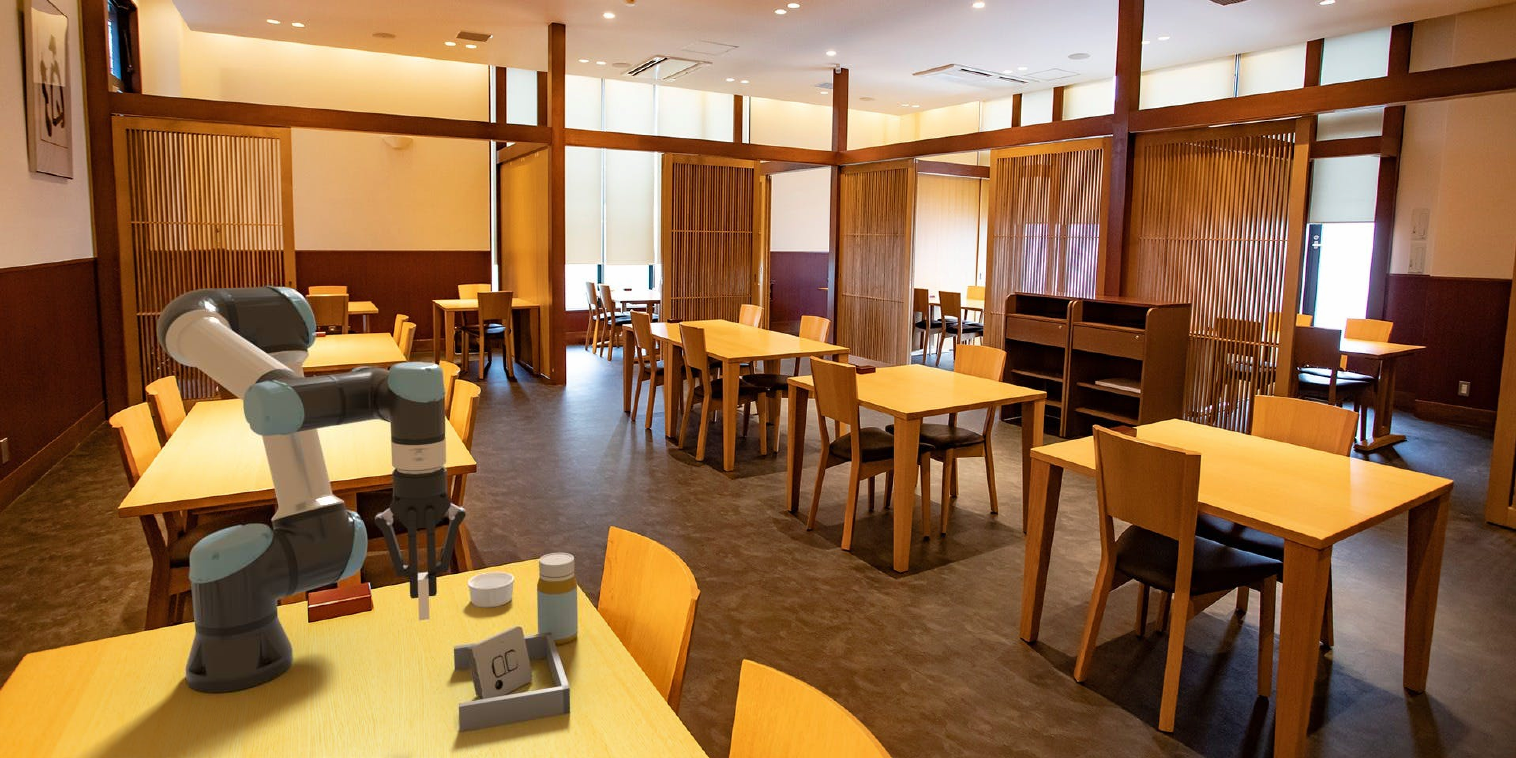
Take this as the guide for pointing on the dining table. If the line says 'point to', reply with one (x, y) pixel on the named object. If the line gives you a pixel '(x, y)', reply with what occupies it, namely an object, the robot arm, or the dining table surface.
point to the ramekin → (491, 589)
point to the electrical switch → (500, 663)
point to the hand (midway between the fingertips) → (424, 615)
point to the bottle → (557, 597)
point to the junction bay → (520, 703)
